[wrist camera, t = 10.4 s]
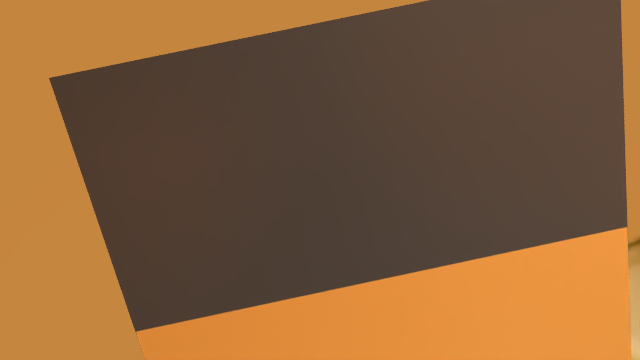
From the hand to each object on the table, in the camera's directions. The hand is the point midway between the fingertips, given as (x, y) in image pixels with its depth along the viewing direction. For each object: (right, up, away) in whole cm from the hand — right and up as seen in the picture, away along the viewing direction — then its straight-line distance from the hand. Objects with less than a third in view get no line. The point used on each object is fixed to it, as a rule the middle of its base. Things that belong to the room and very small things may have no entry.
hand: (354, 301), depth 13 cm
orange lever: (+2, -9, -3) cm, 10 cm away
